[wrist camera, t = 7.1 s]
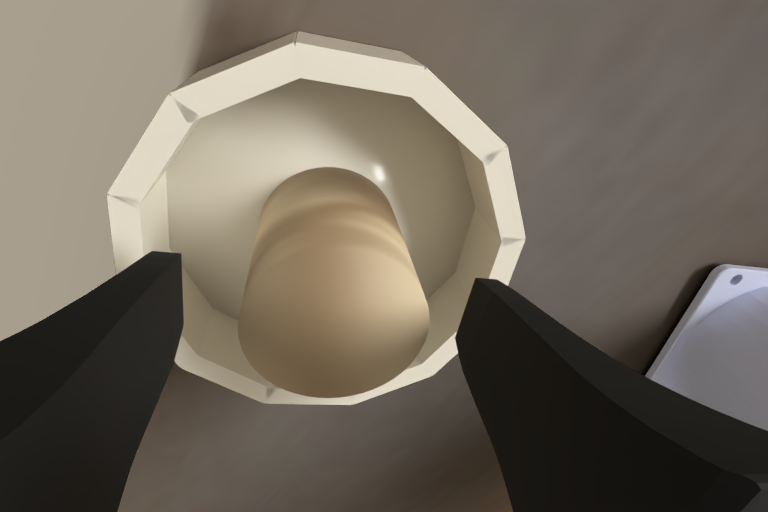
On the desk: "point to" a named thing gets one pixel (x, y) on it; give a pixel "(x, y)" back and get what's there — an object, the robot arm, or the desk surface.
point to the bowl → (303, 152)
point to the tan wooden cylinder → (331, 288)
